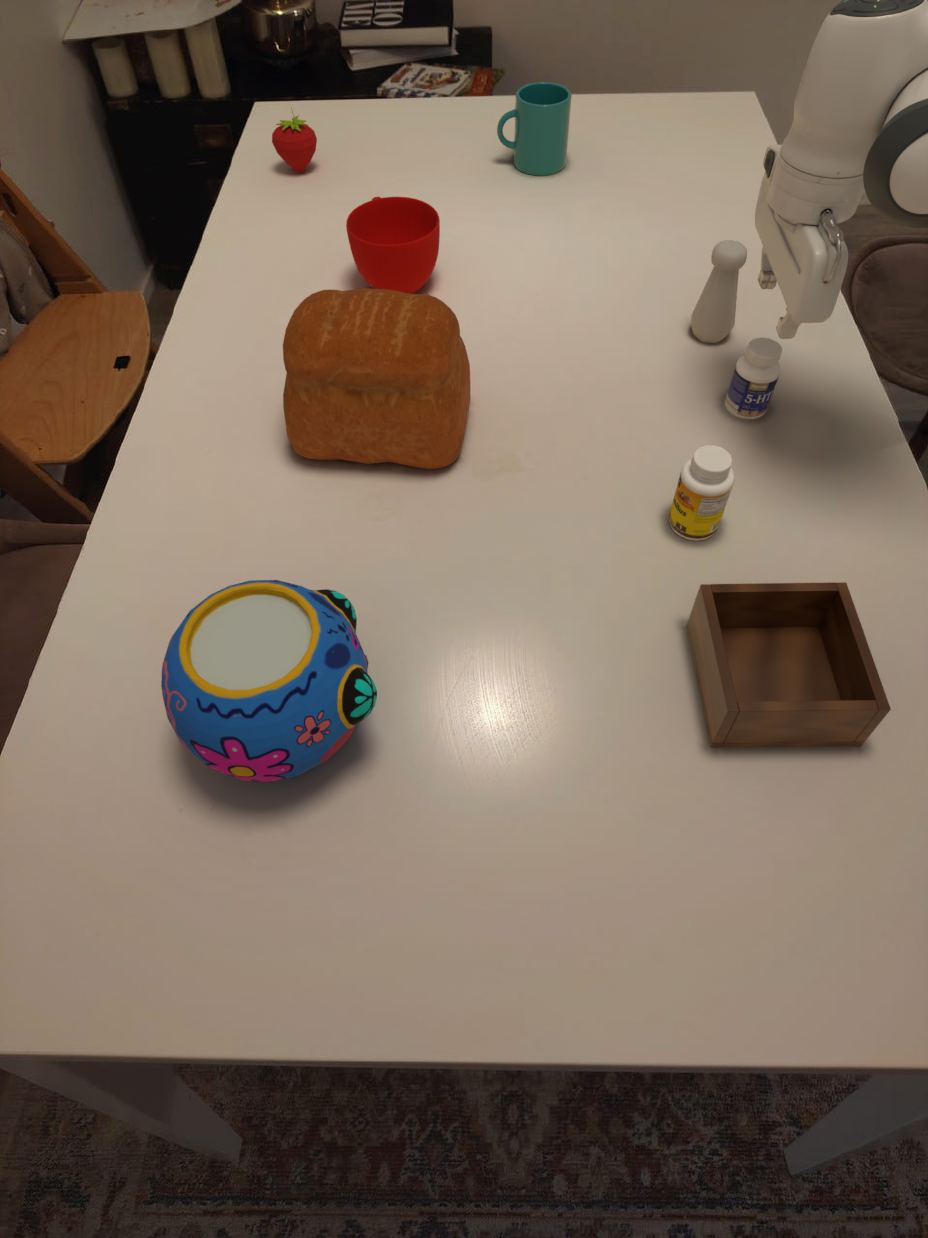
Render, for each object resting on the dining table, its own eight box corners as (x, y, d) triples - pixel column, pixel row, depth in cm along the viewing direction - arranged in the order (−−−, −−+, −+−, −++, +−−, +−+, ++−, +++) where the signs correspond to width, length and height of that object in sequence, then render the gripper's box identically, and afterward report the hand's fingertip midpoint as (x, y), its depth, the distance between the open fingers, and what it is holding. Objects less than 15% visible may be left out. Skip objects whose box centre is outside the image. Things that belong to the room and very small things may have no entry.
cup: (494, 154, 145) (495, 82, 136) (562, 151, 145) (568, 80, 136) (498, 179, 140) (499, 107, 131) (568, 176, 140) (574, 104, 131)
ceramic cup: (420, 242, 129) (416, 176, 121) (453, 301, 119) (451, 234, 111) (339, 257, 127) (330, 192, 119) (367, 319, 117) (358, 253, 109)
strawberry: (280, 164, 144) (268, 101, 136) (323, 163, 144) (314, 101, 136) (275, 181, 141) (263, 118, 133) (319, 180, 141) (310, 117, 133)
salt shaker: (699, 317, 116) (721, 228, 105) (737, 331, 114) (763, 241, 103) (680, 338, 113) (700, 248, 103) (718, 353, 111) (743, 263, 101)
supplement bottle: (663, 507, 95) (680, 440, 86) (711, 505, 95) (733, 438, 87) (672, 544, 92) (691, 477, 83) (722, 542, 92) (746, 475, 83)
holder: (822, 624, 85) (846, 582, 79) (860, 747, 77) (891, 709, 71) (685, 626, 85) (700, 583, 79) (709, 748, 77) (728, 711, 71)
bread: (315, 378, 110) (291, 259, 96) (475, 389, 108) (474, 269, 94) (282, 470, 99) (250, 351, 86) (458, 483, 98) (455, 364, 84)
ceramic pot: (397, 780, 75) (381, 696, 63) (202, 834, 73) (146, 758, 61) (357, 630, 85) (336, 533, 73) (183, 673, 83) (132, 580, 70)
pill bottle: (739, 425, 103) (759, 365, 96) (716, 400, 106) (733, 340, 98) (775, 413, 104) (797, 353, 97) (750, 389, 107) (770, 329, 100)
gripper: (879, 242, 76) (826, 367, 87) (821, 138, 88) (782, 260, 99) (810, 243, 76) (767, 367, 87) (762, 139, 88) (729, 260, 99)
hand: (774, 309), depth 94 cm, fingers open, 8 cm apart
